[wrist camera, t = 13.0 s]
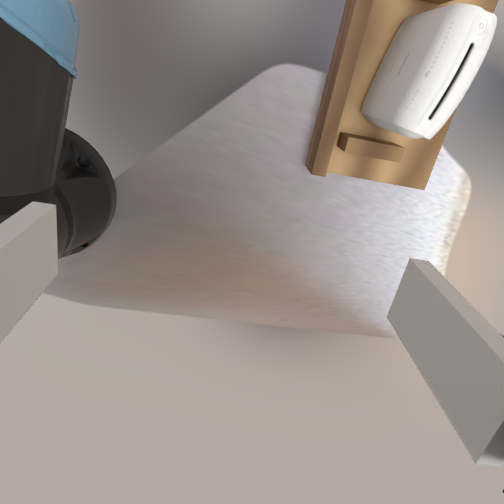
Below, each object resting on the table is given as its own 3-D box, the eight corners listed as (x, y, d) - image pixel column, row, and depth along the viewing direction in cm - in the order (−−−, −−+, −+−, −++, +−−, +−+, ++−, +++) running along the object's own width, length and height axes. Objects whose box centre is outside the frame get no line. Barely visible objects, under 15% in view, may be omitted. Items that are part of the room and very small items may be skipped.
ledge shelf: (305, 165, 45) (313, 176, 41) (364, -71, 36) (382, -91, 31) (418, 186, 47) (438, 199, 42) (503, -35, 37) (539, -48, 33)
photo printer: (403, 9, 37) (474, -14, 26) (440, 29, 38) (525, 14, 27) (352, 115, 41) (395, 134, 30) (387, 130, 42) (442, 154, 31)
